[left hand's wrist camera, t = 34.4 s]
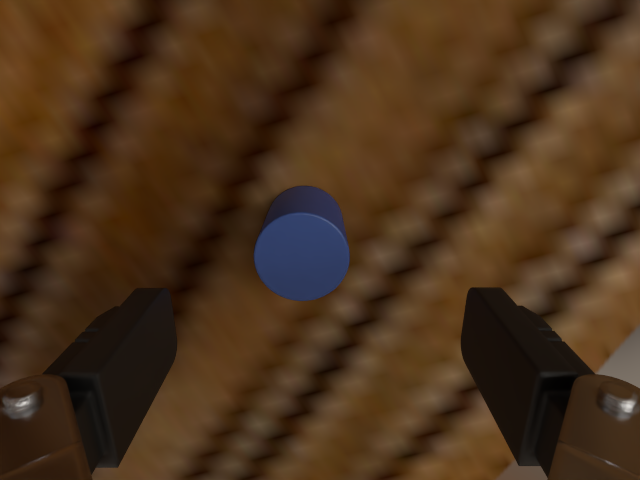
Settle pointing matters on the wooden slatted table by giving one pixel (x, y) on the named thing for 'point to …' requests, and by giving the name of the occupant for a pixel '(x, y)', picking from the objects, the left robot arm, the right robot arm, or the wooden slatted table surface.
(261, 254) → the canister
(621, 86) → the wooden slatted table surface
